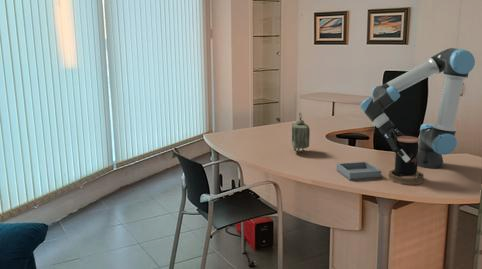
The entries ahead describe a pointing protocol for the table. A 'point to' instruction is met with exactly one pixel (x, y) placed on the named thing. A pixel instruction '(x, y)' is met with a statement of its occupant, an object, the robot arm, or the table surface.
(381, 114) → the robot arm
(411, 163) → the coffee jar
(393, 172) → the ring guard
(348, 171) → the tray
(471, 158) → the table surface
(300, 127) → the green lantern
